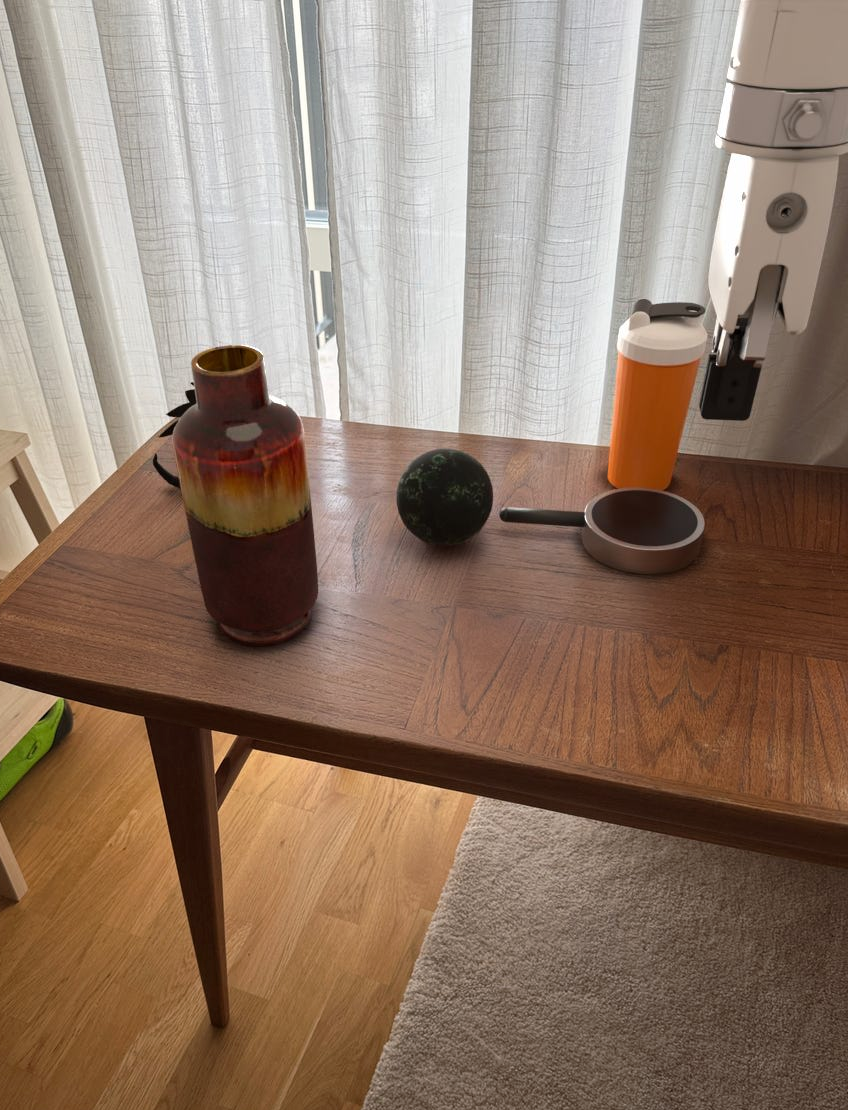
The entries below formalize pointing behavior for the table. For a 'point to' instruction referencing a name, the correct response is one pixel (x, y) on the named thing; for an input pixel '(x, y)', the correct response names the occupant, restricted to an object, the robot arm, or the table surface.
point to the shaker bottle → (653, 391)
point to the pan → (629, 528)
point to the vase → (247, 499)
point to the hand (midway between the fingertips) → (723, 414)
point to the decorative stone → (444, 497)
